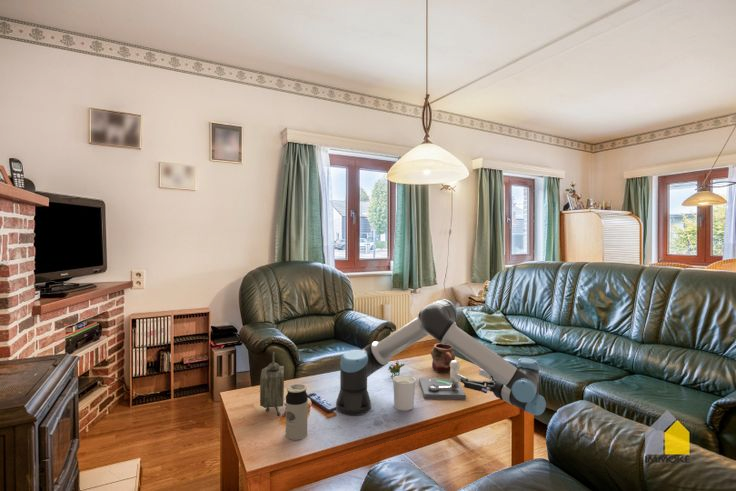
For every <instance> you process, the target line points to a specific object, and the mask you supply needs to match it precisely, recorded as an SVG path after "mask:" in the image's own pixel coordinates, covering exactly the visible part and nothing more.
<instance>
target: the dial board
mask: <svg viewBox="0 0 736 491" xmlns="http://www.w3.org/2000/svg"><path fill="white" fill-rule="evenodd" d="M418 380H419V382H418V383H419V385H420V386H419V387H420V389H421V392H422V395H423V399H426V400H427V399H434V400H435V399H437V400H466V399H467V395H466V392H465V391H464V389H463V387H462V385H461V384H460V383H459V389H439V391H430V390H429V389H428V386H429V385H437V386H450V378H435V377H432V378H431V377H430V378H428V377H427V378H426V377H422V378H421V377H419V379H418Z"/></svg>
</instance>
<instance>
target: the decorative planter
mask: <svg viewBox="0 0 736 491" xmlns="http://www.w3.org/2000/svg"><path fill="white" fill-rule="evenodd" d="M453 350H454V348H452V347H451V346H449V345H448V344H447V343H441V342H439V343H435V344H433V348H432V349H431V350H430V355H431V358H432V362H431V367H432V370H433V371H434V372H436V373H439V374H444V373H449V372H450V363H451V361H453V360H455V359H456V355H455V352H454V351H453Z"/></svg>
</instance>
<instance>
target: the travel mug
mask: <svg viewBox="0 0 736 491" xmlns="http://www.w3.org/2000/svg"><path fill="white" fill-rule="evenodd" d="M307 389H308V386H307V384H304V383H291V384H289V385H288V386H286V391H287V393H286V394H285V437H286V439H289V440H292V441H298V440H302V439H304V438H305V437H306V436H307V435H308V410H309V409H308V406H309V405H308V403H309V402H308V398H309V396H308V393H307Z"/></svg>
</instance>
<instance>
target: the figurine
mask: <svg viewBox="0 0 736 491" xmlns="http://www.w3.org/2000/svg"><path fill="white" fill-rule="evenodd" d="M399 363H400V362H399V360H398V359H397V360H396V361H395V364H391V365H389V367H388V369H387V370H388V371H389V373H390V374H391V377H395V376H398V375H401V374H400V371H401V368H402V367H404V366H406V364H404V363H400V364H399Z"/></svg>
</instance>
